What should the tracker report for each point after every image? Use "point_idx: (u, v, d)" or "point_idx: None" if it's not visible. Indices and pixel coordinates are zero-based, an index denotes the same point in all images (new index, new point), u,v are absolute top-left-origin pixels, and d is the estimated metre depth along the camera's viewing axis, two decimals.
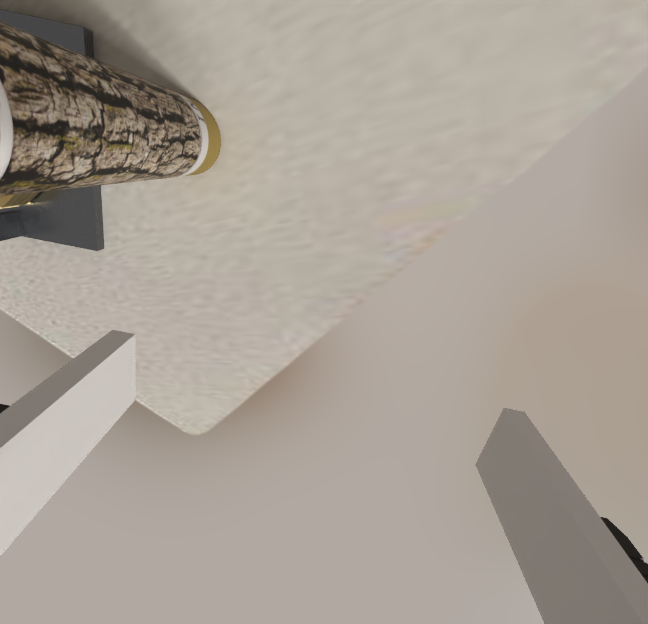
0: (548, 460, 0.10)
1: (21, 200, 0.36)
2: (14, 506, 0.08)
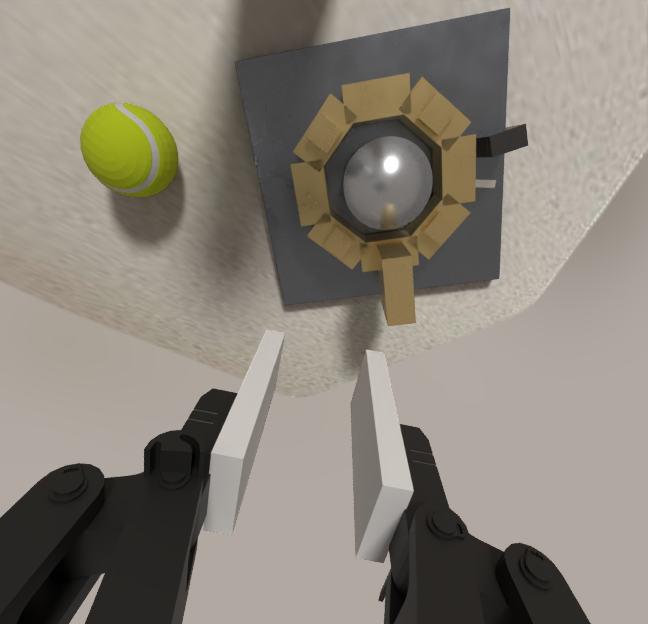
0: (380, 384, 0.12)
1: None
2: (249, 467, 0.10)
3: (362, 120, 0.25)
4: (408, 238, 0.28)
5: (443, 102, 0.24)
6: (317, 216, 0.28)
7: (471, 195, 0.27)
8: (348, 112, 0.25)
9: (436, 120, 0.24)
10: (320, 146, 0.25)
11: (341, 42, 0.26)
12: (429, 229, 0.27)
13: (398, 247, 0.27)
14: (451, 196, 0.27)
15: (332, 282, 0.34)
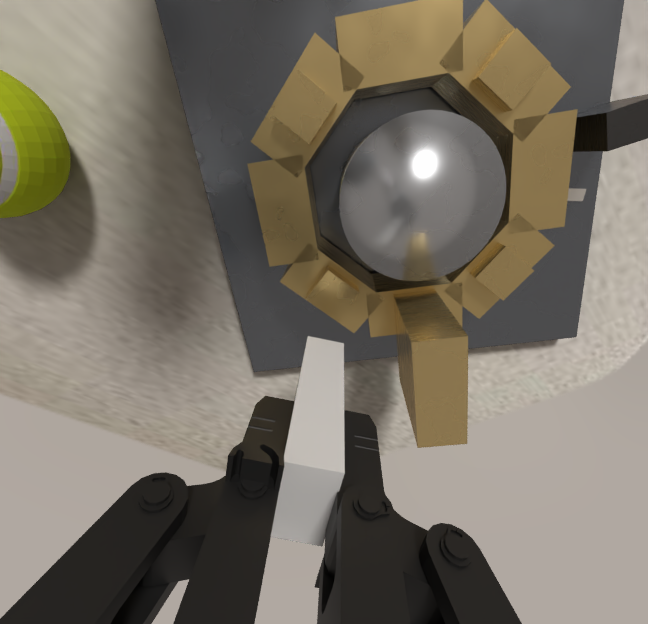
0: (333, 372, 0.12)
1: None
2: None
3: (373, 84, 0.14)
4: (447, 286, 0.17)
5: (527, 47, 0.13)
6: (296, 250, 0.17)
7: (558, 217, 0.16)
8: (348, 69, 0.14)
9: (511, 82, 0.13)
10: (297, 131, 0.14)
11: None
12: (485, 275, 0.16)
13: (434, 307, 0.15)
14: (524, 218, 0.16)
15: None
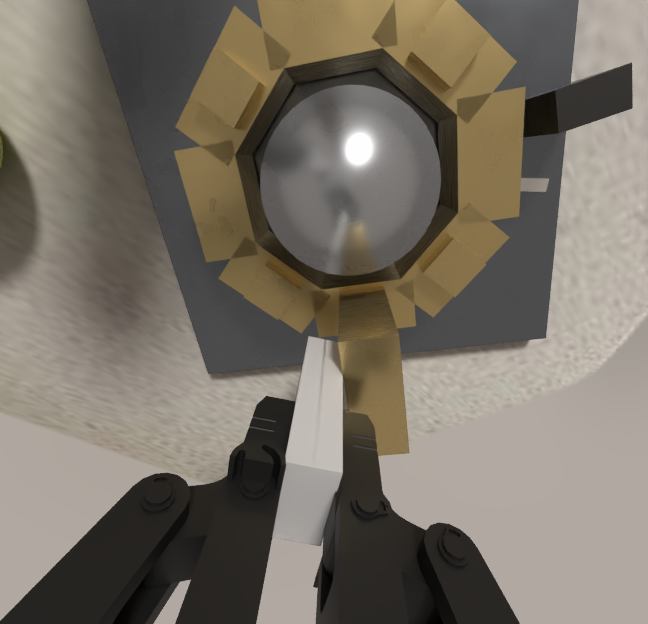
0: (331, 372, 0.12)
1: None
2: None
3: (301, 62, 0.13)
4: (397, 283, 0.16)
5: (462, 16, 0.12)
6: (233, 244, 0.16)
7: (512, 206, 0.14)
8: (273, 46, 0.13)
9: (448, 56, 0.12)
10: (220, 114, 0.13)
11: None
12: (434, 269, 0.15)
13: (376, 305, 0.14)
14: (475, 207, 0.15)
15: (279, 341, 0.21)
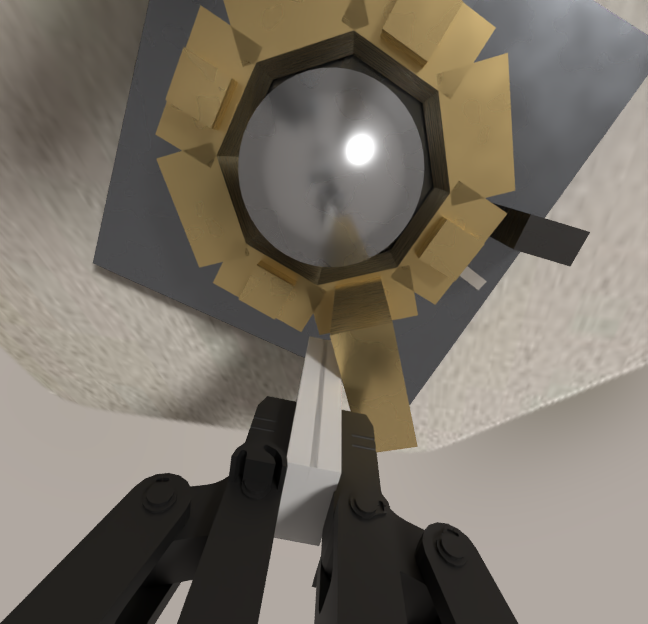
0: (330, 371, 0.12)
1: None
2: None
3: (273, 54, 0.13)
4: (394, 272, 0.15)
5: None
6: (224, 247, 0.16)
7: (506, 180, 0.14)
8: (243, 41, 0.13)
9: (421, 29, 0.12)
10: (196, 116, 0.13)
11: None
12: (429, 254, 0.14)
13: (371, 295, 0.14)
14: (467, 185, 0.14)
15: (185, 274, 0.20)
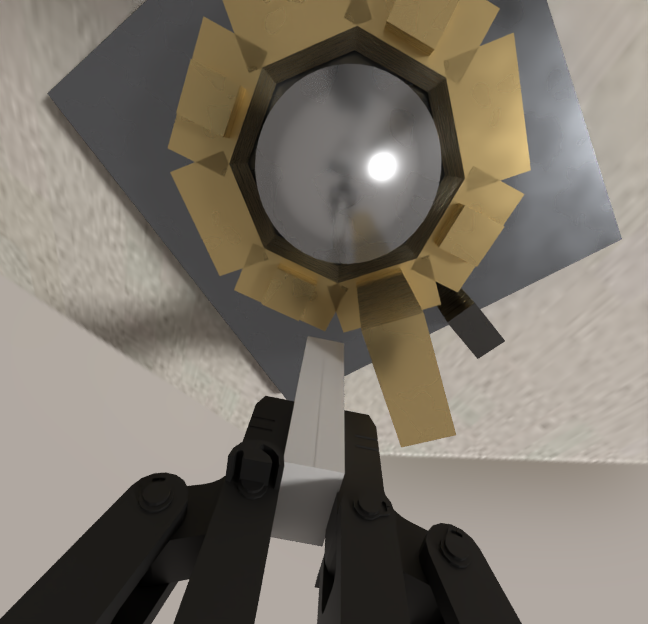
0: (333, 372, 0.12)
1: None
2: None
3: (278, 58, 0.13)
4: (414, 263, 0.15)
5: None
6: (243, 253, 0.16)
7: (521, 160, 0.14)
8: (247, 48, 0.13)
9: (425, 18, 0.11)
10: (207, 126, 0.13)
11: None
12: (449, 242, 0.14)
13: (395, 288, 0.14)
14: (482, 169, 0.14)
15: (146, 169, 0.18)
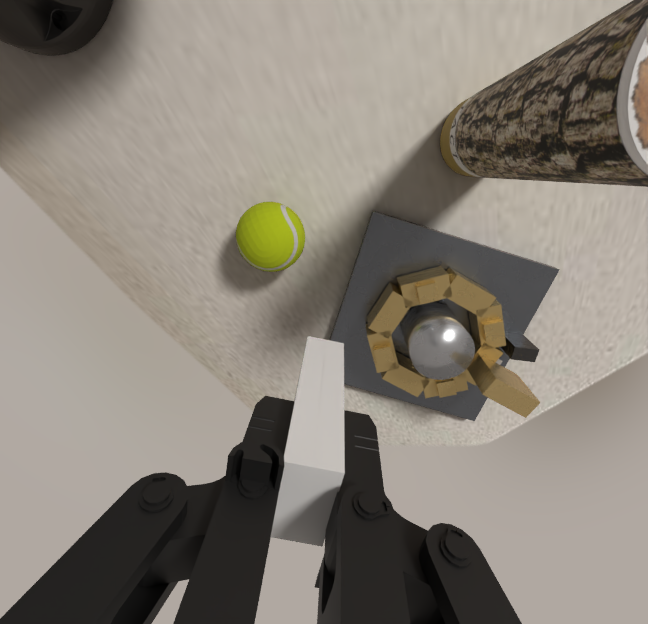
0: (333, 372, 0.12)
1: (434, 271, 0.36)
2: None
3: (394, 329, 0.37)
4: (481, 348, 0.37)
5: (424, 287, 0.34)
6: (420, 385, 0.39)
7: (490, 298, 0.35)
8: (383, 333, 0.37)
9: (430, 296, 0.34)
10: (388, 361, 0.37)
11: (449, 236, 0.36)
12: (488, 337, 0.36)
13: (482, 367, 0.35)
14: (480, 309, 0.35)
15: (361, 376, 0.43)
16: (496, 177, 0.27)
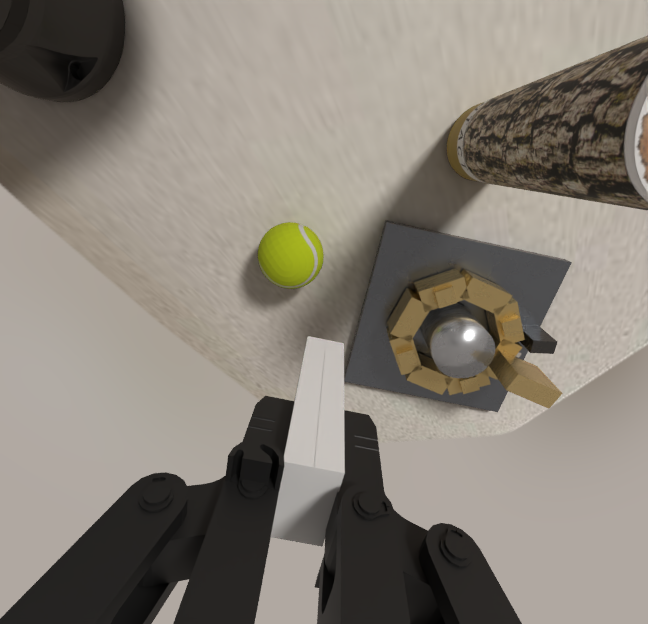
0: (333, 372, 0.12)
1: (450, 274, 0.37)
2: None
3: (415, 333, 0.38)
4: (501, 344, 0.38)
5: (442, 291, 0.35)
6: (444, 383, 0.41)
7: (507, 296, 0.36)
8: (405, 337, 0.38)
9: (448, 299, 0.36)
10: (411, 364, 0.39)
11: (462, 239, 0.37)
12: (507, 334, 0.37)
13: (503, 362, 0.37)
14: (497, 307, 0.37)
15: (385, 377, 0.44)
16: (506, 186, 0.28)
